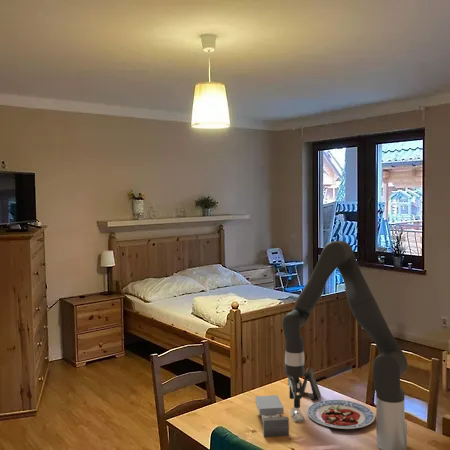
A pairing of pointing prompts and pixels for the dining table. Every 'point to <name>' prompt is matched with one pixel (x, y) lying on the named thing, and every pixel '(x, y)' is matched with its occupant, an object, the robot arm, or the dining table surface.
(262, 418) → the roller middle
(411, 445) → the dining table surface
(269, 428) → the bar
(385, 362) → the robot arm
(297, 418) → the roller
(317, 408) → the ceramic plate
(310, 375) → the grey a-frame stand
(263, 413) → the slab
